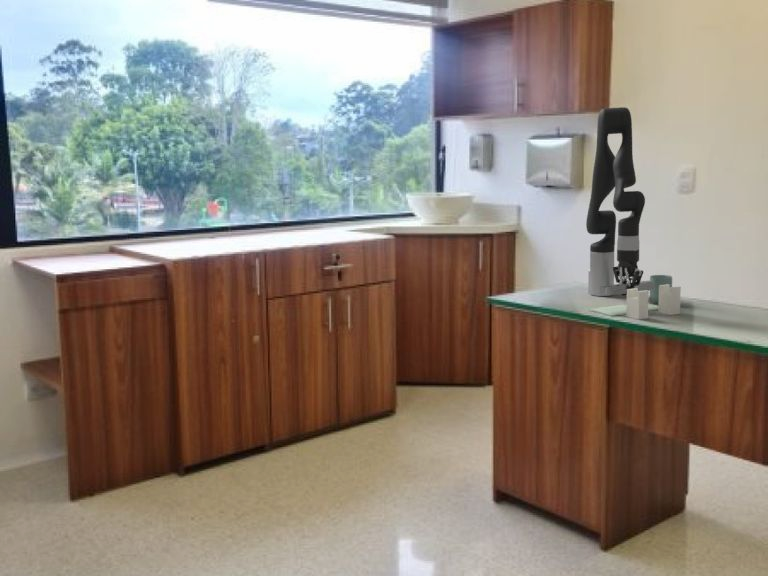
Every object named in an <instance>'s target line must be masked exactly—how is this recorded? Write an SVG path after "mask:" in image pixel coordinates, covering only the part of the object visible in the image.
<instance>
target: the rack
mask: <svg viewBox="0 0 768 576" xmlns="http://www.w3.org/2000/svg"><path fill="white" fill-rule="evenodd" d="M681 290H682V289H681V286H679V285H678V286H677V285H676V286H672V287H670V285H669V284H666V285H659V304H657V306H658V310H657V311H658V313H660V314H664V315H669V316H673V315H674V316H675V315H679V314H681ZM626 304H627V309H626V314H625V316H626V317H627V318H630V319H634V320H646V319H649V311H648V304H649V291H647V290H645V291H638V288H634V289H627V295H626Z"/></svg>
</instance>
